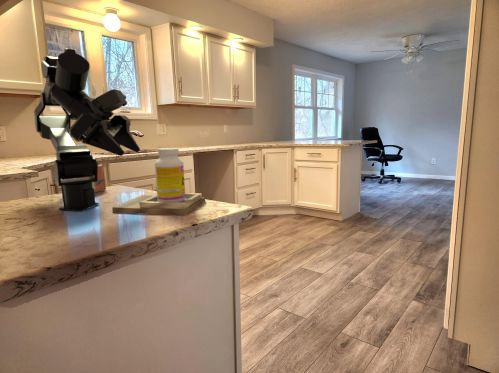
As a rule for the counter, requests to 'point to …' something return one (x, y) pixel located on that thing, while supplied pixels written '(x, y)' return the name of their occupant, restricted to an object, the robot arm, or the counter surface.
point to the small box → (101, 180)
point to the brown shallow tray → (160, 205)
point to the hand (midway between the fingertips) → (131, 152)
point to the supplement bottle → (169, 176)
